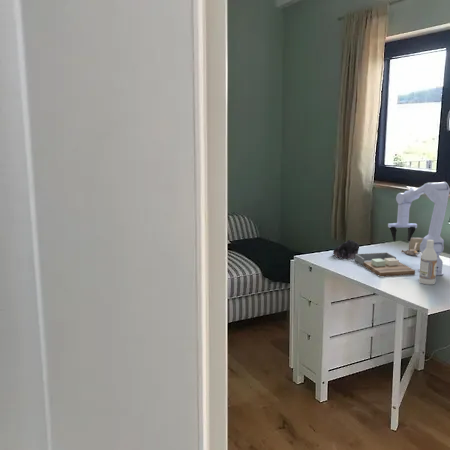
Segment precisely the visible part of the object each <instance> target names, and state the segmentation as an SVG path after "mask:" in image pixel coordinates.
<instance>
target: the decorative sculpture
mask: <svg viewBox="0 0 450 450" xmlns="http://www.w3.org/2000/svg"><path fill="white" fill-rule="evenodd" d="M423 238H424V237H411V240H410V241H408V247H407V248H408V250H403V249H402V250H400V251H401V253H404V254H405V255H410V256H417V255H419V252H421V251H420V244H421V242H422V240H423ZM418 251H419V252H418Z"/></svg>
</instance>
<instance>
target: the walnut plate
mask: <svg viewBox="0 0 450 450" xmlns="http://www.w3.org/2000/svg"><path fill="white" fill-rule="evenodd" d="M362 266H363V267H364V266H365V267H364V268H366V269H367V268H368V269H367V270H369V269H370V270H371V272H372V273H374V274H376V275H377V276H378V275H379V277H380V276H384V277H395V276H414V275H415V274H416V270H415V269H413V268H412V267H410V266H408V265H406V264H404V263H403V262H400V261H399V264H398V265H395V266H388V265H387V264H385V266H379V267H376V266H374V265H372V264H371V262H364V263H363V265H362ZM370 270H369V271H370Z"/></svg>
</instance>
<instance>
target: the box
mask: <svg viewBox="0 0 450 450" xmlns="http://www.w3.org/2000/svg"><path fill="white" fill-rule="evenodd" d="M385 258H395V259H397V257H396V256H394V255H392V254H391V253H389V252H388V251H386V252H373V253H372V252H371V253H370V252H369V253H358V254H355V258H354V261H355V262H356V263H358V264H360V265H362V266H363V263H364V262H371V261H372V259H383V260H384V259H385Z"/></svg>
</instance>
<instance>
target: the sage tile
mask: <svg viewBox="0 0 450 450" xmlns="http://www.w3.org/2000/svg"><path fill="white" fill-rule="evenodd" d="M371 264H372V265H374V266H376V267H379V266H385V264H386V261H384V260H383V259H372V261H371Z"/></svg>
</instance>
